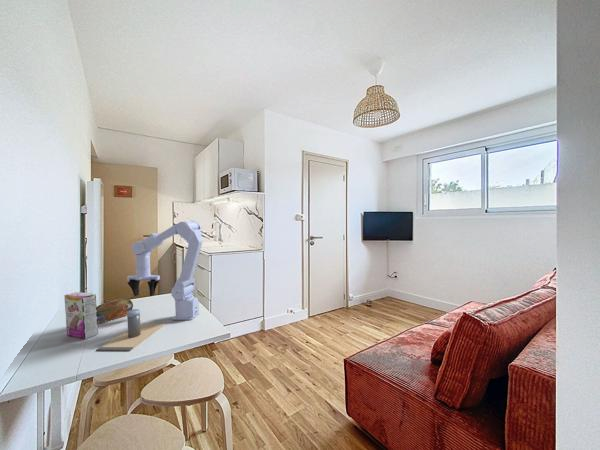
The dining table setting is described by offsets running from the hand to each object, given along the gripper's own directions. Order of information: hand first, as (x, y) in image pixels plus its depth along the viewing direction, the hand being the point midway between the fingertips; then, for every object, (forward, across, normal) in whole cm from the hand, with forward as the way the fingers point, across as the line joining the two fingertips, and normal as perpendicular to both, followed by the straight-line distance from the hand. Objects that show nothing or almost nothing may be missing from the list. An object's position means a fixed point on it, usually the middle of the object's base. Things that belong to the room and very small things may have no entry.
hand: (144, 295), depth 118 cm
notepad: (+9, +10, -21) cm, 25 cm away
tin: (+10, -12, -4) cm, 16 cm away
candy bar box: (+10, -12, -20) cm, 25 cm away
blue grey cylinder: (+9, +10, -21) cm, 25 cm away
